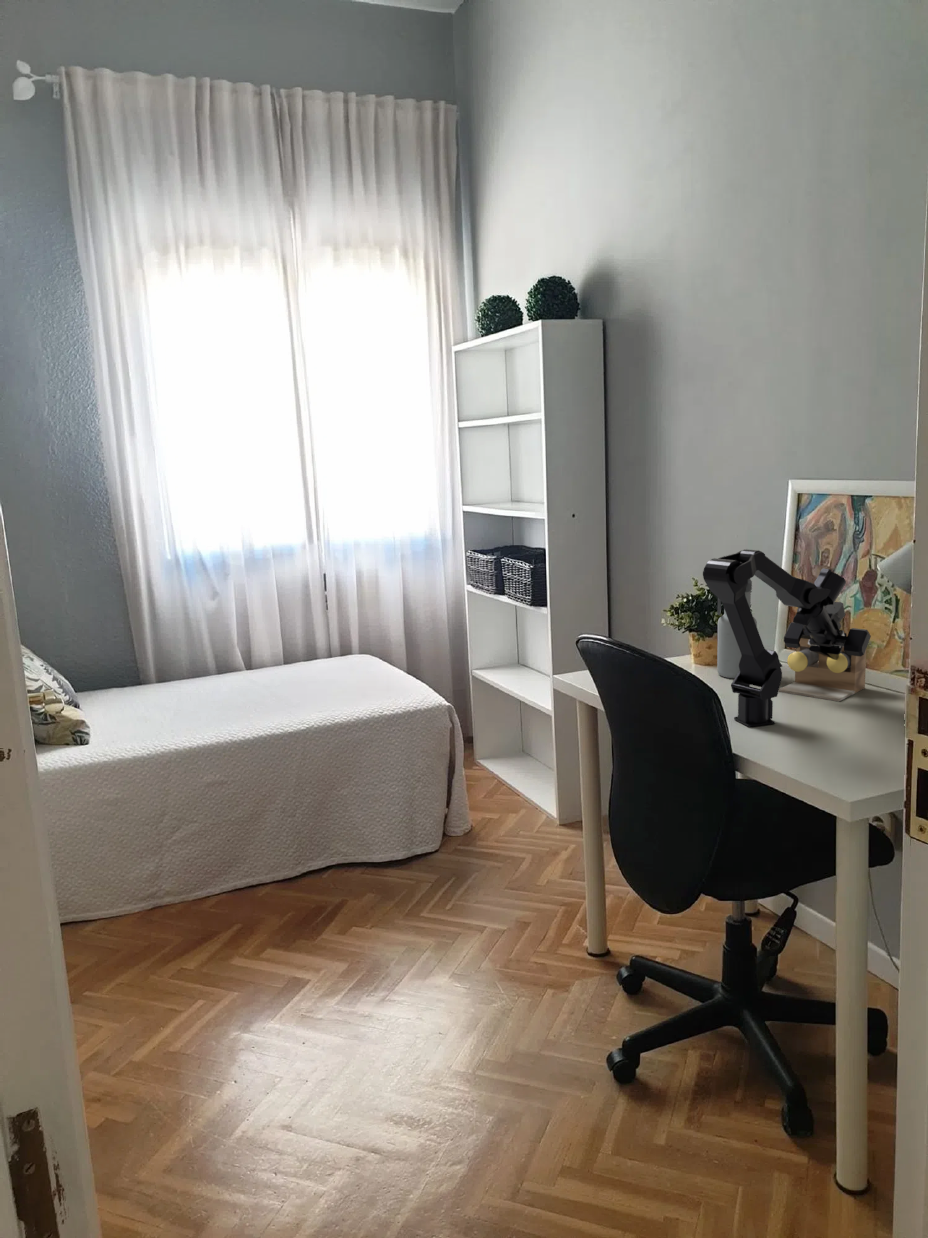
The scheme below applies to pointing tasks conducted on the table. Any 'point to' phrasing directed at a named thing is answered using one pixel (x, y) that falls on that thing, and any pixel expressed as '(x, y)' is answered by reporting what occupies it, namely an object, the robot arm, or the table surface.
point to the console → (828, 678)
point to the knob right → (839, 663)
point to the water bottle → (729, 642)
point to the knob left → (802, 659)
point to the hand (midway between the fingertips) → (836, 658)
